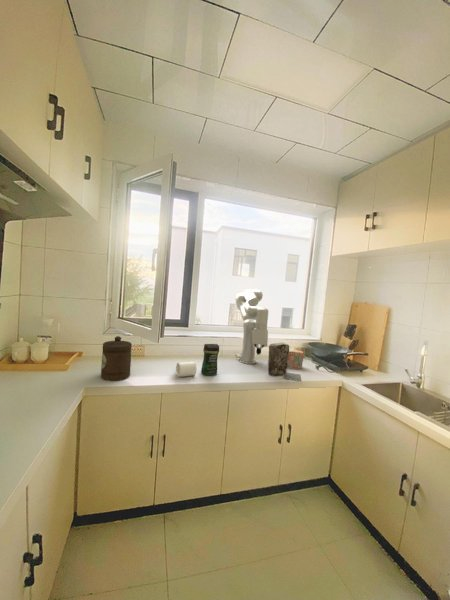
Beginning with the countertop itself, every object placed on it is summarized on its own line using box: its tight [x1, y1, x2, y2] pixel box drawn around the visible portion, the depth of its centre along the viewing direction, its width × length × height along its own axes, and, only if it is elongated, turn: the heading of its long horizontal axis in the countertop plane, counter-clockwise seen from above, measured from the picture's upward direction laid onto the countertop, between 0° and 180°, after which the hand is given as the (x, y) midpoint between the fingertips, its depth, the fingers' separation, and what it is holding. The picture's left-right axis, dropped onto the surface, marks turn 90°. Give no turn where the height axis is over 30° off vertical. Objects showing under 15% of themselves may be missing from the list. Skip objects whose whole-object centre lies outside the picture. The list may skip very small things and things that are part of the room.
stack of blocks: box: [287, 348, 305, 370], centre depth 187 cm, size 21×6×12 cm, turn 87°
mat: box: [282, 371, 302, 382], centre depth 166 cm, size 11×12×1 cm
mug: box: [175, 361, 197, 378], centre depth 153 cm, size 12×10×8 cm
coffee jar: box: [200, 343, 220, 376], centre depth 157 cm, size 10×8×19 cm
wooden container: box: [100, 335, 132, 382], centre depth 140 cm, size 15×15×22 cm
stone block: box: [267, 342, 290, 377], centre depth 167 cm, size 13×7×20 cm, turn 128°
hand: (258, 354), depth 170 cm, fingers closed
